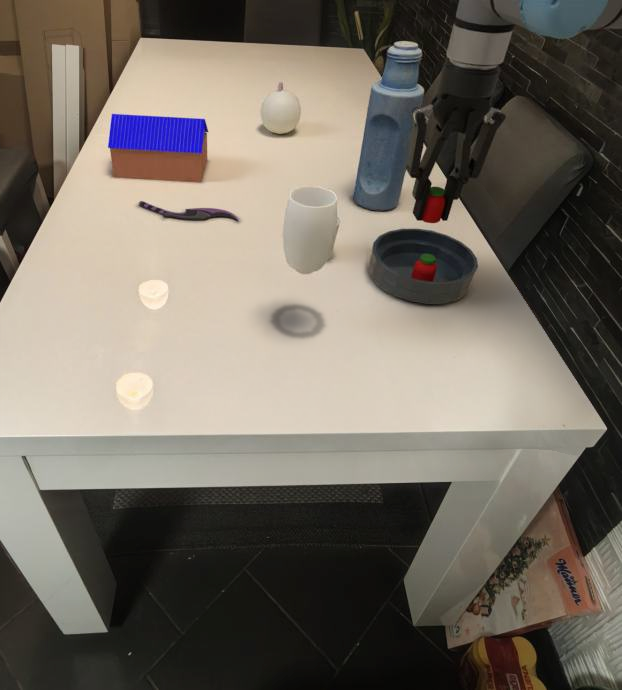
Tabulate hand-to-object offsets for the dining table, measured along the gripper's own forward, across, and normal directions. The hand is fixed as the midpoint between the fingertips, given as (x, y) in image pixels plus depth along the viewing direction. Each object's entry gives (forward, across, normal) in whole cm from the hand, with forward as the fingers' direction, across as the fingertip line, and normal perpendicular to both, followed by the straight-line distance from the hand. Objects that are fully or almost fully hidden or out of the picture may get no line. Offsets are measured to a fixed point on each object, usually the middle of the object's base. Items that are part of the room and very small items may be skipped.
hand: (429, 216), depth 90 cm
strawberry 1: (0, 0, 0) cm, 0 cm away
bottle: (+10, +1, -25) cm, 27 cm away
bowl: (+10, 0, +3) cm, 10 cm away
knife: (+10, +41, -19) cm, 46 cm away
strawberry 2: (+9, +1, +6) cm, 11 cm away
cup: (+10, +23, +15) cm, 29 cm away
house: (+10, +47, -40) cm, 63 cm away
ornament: (+10, +18, -64) cm, 67 cm away
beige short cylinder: (+10, +17, -4) cm, 20 cm away
